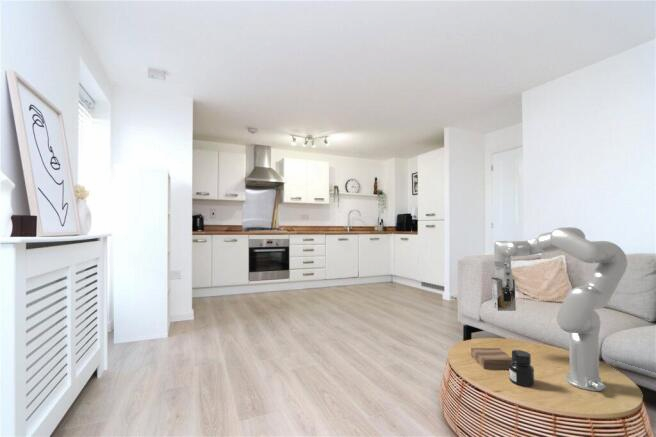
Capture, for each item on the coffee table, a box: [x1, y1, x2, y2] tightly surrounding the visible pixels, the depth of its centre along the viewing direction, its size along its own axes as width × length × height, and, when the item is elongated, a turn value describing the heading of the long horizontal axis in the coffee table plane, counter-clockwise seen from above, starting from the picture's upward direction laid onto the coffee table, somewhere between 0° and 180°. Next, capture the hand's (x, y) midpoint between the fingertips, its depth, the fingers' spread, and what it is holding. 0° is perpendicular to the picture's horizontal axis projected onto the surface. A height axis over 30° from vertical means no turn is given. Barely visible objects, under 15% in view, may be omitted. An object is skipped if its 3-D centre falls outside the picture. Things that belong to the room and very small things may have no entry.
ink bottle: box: [508, 349, 535, 388], centre depth 132 cm, size 10×9×12 cm
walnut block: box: [470, 347, 512, 370], centre depth 151 cm, size 14×14×4 cm
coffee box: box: [491, 277, 517, 312], centre depth 163 cm, size 9×6×16 cm
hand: (503, 299), depth 163 cm, fingers closed on coffee box, 6 cm apart
